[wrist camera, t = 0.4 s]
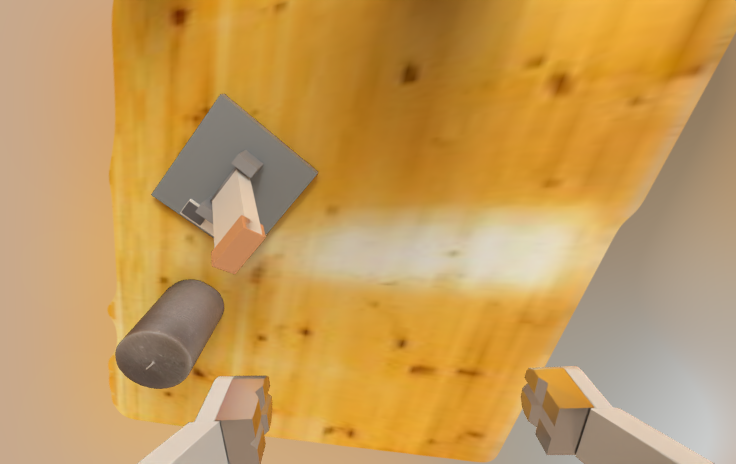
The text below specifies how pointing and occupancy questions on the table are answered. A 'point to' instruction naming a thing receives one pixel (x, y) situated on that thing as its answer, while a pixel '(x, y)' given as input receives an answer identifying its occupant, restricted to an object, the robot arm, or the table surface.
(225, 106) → the switch board
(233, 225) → the block
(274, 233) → the table surface
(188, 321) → the pillar candle
